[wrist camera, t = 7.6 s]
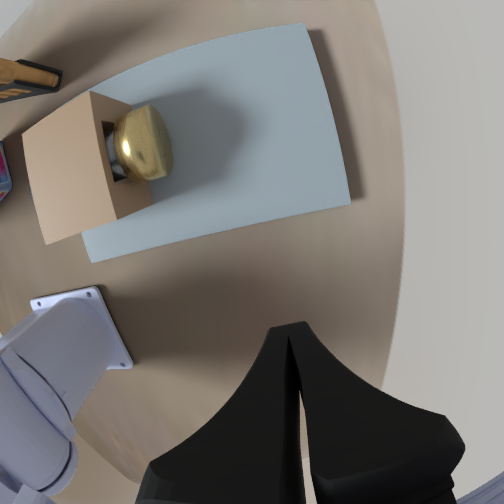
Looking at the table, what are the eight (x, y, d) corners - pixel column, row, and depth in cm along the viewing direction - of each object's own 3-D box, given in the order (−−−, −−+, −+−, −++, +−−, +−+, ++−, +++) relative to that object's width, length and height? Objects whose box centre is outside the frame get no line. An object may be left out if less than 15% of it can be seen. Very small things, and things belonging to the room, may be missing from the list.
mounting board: (99, 257, 19) (51, 291, 13) (64, 110, 16) (9, 103, 10) (345, 201, 17) (382, 220, 12) (302, 30, 14) (316, -18, 8)
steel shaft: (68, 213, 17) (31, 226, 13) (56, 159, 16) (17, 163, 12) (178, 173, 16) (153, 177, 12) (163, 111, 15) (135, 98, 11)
